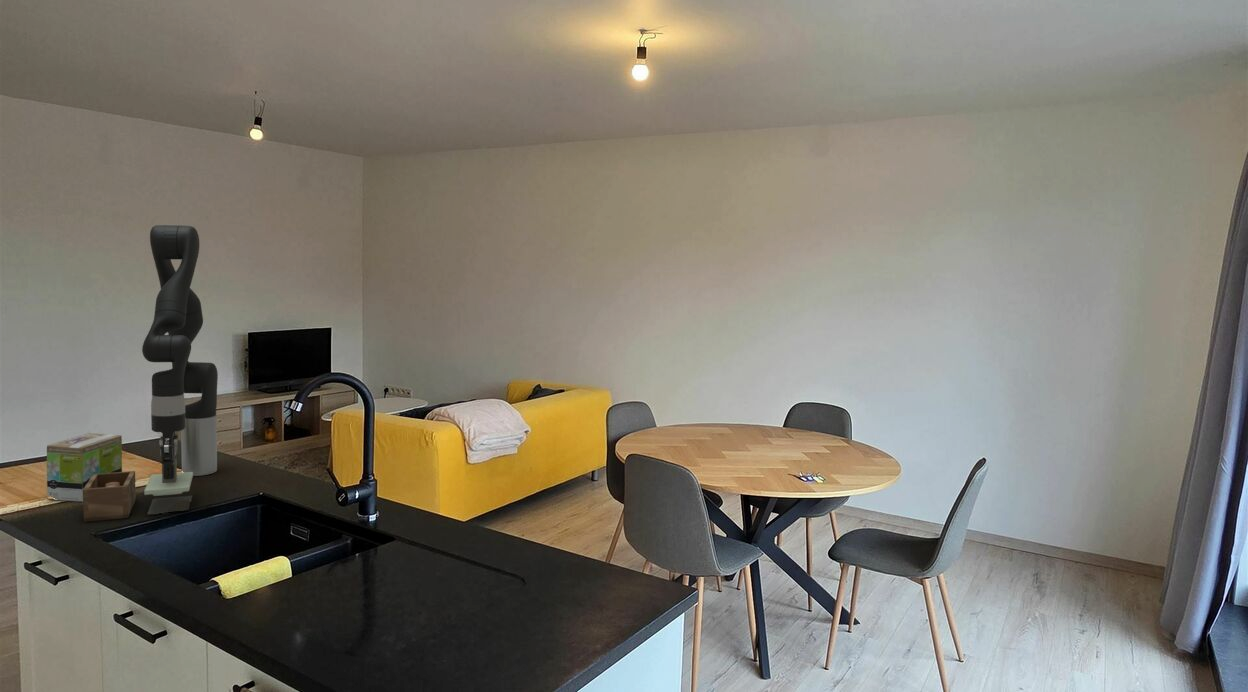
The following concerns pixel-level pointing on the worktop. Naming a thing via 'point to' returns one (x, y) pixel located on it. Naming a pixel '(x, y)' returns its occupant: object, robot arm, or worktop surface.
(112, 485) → the crate
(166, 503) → the mat
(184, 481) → the lid
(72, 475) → the tea box
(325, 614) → the worktop surface
